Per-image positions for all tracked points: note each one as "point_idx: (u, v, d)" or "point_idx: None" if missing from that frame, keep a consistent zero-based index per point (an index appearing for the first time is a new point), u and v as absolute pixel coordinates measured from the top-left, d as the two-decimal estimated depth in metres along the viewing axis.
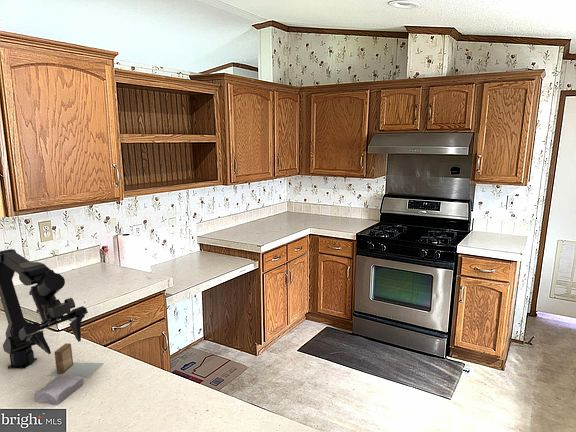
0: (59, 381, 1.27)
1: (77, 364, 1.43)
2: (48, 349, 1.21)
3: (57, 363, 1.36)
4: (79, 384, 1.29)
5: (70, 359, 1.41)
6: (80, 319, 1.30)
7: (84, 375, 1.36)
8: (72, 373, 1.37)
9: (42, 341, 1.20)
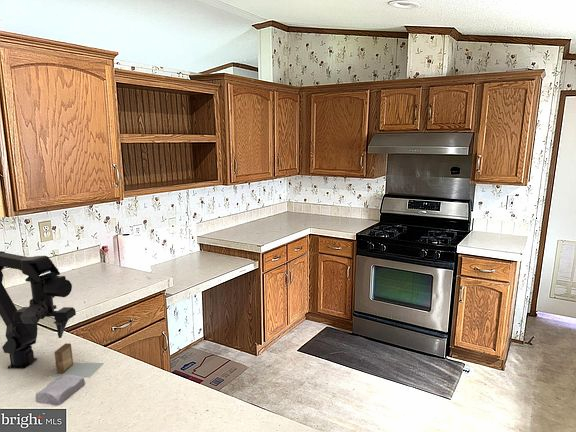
0: (60, 381, 1.27)
1: (77, 364, 1.43)
2: (32, 334, 1.37)
3: (57, 363, 1.36)
4: (81, 384, 1.29)
5: (70, 359, 1.41)
6: (58, 323, 1.34)
7: (84, 375, 1.36)
8: (72, 373, 1.37)
9: (28, 327, 1.37)
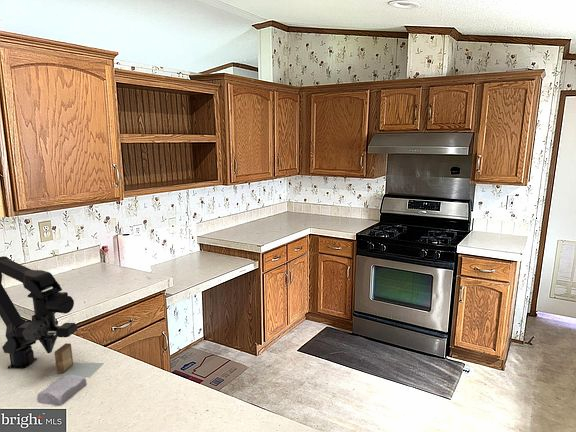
0: (62, 381, 1.27)
1: (77, 364, 1.43)
2: (46, 350, 1.38)
3: (57, 363, 1.36)
4: (82, 385, 1.29)
5: (70, 359, 1.41)
6: (48, 339, 1.36)
7: (84, 375, 1.36)
8: (72, 373, 1.37)
9: (42, 343, 1.37)
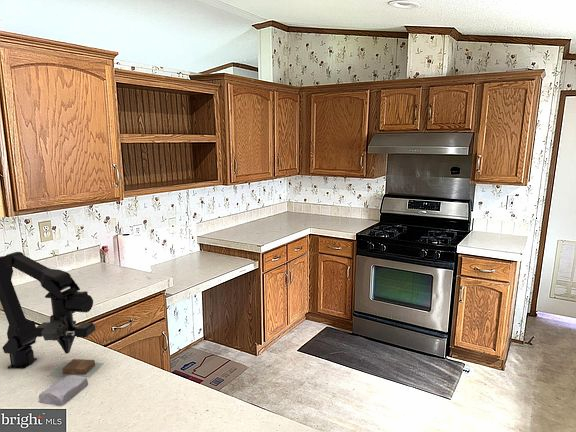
0: (64, 382, 1.27)
1: None
2: (64, 350, 1.38)
3: (72, 369, 1.36)
4: (84, 385, 1.28)
5: None
6: (66, 339, 1.35)
7: (84, 375, 1.36)
8: None
9: (60, 343, 1.37)
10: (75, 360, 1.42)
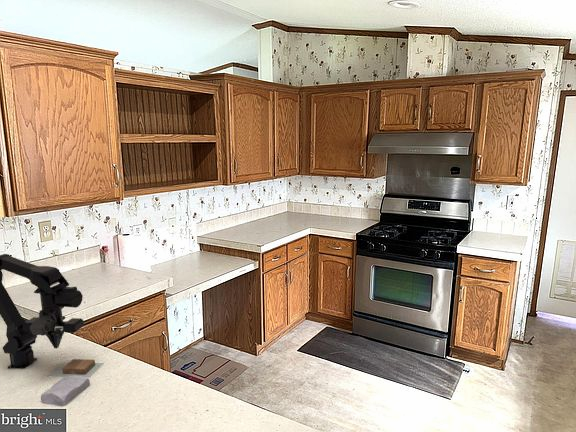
0: (65, 382, 1.27)
1: None
2: (53, 345, 1.39)
3: (72, 369, 1.36)
4: (86, 385, 1.28)
5: None
6: (55, 334, 1.36)
7: (84, 375, 1.36)
8: None
9: (49, 338, 1.38)
10: (75, 360, 1.42)
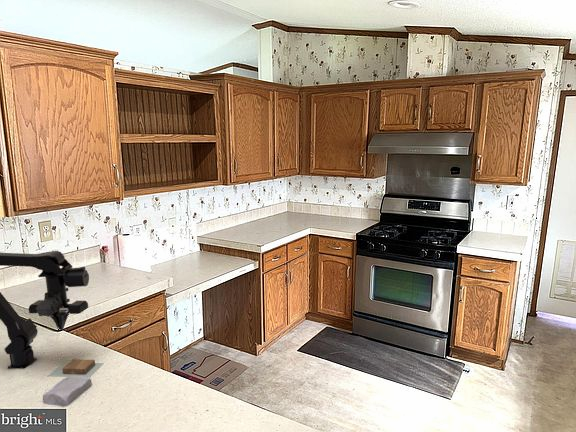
0: (67, 382, 1.27)
1: None
2: (58, 327, 1.43)
3: (72, 369, 1.36)
4: (88, 385, 1.28)
5: None
6: (60, 316, 1.40)
7: (84, 375, 1.36)
8: None
9: (54, 320, 1.42)
10: (75, 360, 1.42)
